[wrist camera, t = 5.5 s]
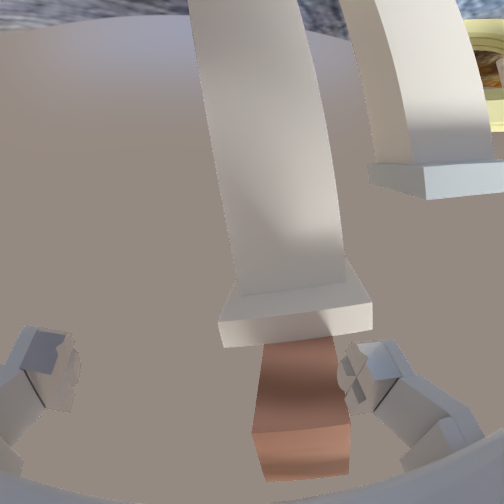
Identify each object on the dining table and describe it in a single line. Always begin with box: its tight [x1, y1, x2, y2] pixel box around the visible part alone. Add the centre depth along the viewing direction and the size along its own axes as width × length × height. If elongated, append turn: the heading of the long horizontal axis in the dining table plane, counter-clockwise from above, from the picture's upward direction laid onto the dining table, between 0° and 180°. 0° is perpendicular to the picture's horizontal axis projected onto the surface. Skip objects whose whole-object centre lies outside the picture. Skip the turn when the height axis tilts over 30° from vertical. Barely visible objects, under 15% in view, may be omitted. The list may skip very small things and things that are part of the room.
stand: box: [187, 0, 504, 348], centre depth 22 cm, size 14×24×32 cm, turn 96°
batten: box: [252, 336, 351, 482], centre depth 25 cm, size 24×4×4 cm, turn 6°
